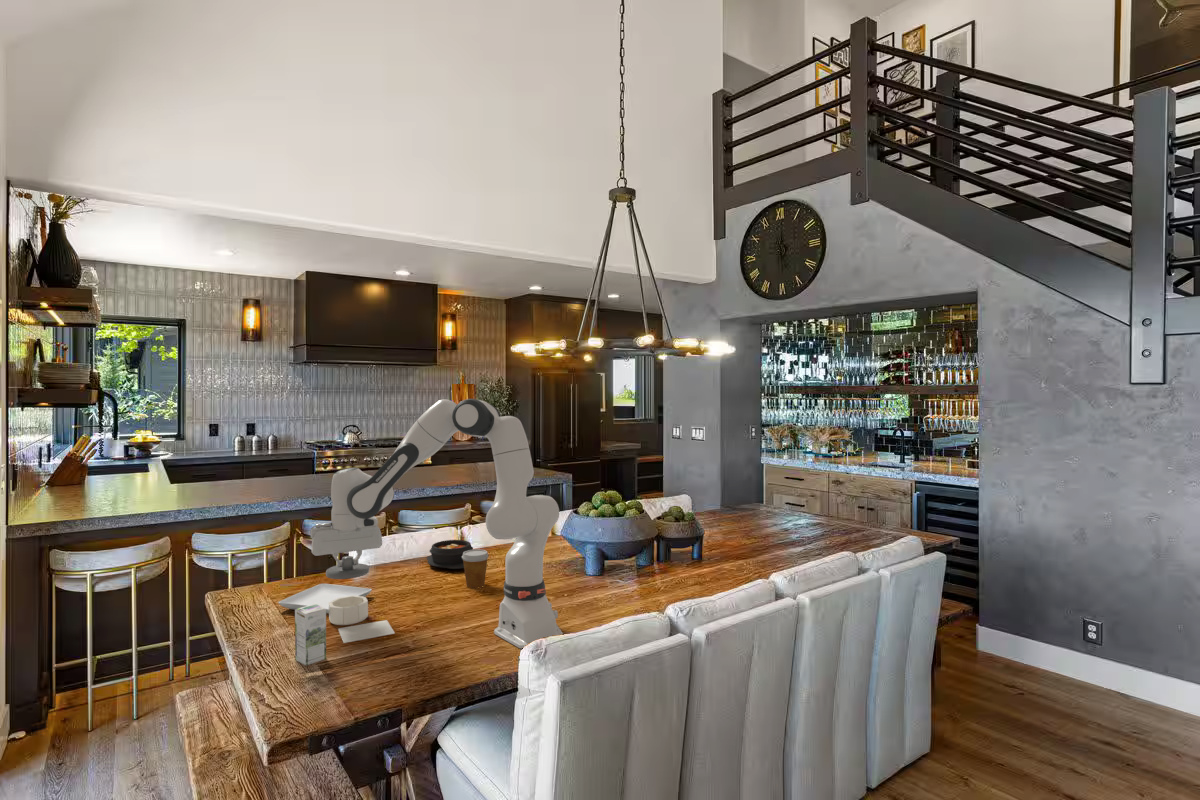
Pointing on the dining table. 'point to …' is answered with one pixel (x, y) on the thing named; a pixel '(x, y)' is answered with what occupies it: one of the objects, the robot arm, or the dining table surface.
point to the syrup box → (310, 634)
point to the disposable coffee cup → (475, 567)
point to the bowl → (348, 610)
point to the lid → (347, 569)
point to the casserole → (448, 554)
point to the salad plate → (322, 595)
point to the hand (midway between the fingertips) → (347, 565)
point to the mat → (365, 631)
